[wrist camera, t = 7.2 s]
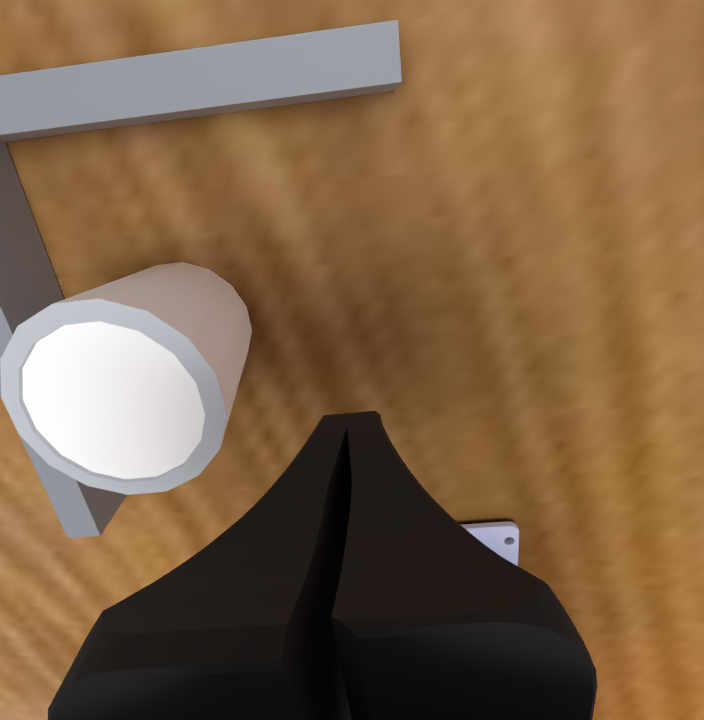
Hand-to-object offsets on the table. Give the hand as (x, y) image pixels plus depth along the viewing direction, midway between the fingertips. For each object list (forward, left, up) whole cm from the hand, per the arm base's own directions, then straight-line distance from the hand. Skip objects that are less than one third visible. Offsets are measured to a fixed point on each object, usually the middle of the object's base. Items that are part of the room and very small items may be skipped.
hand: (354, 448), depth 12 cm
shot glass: (0, +7, -10) cm, 13 cm away
